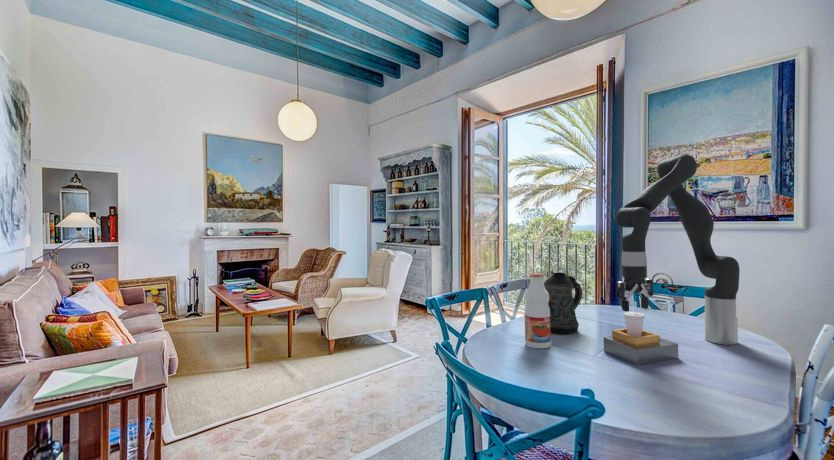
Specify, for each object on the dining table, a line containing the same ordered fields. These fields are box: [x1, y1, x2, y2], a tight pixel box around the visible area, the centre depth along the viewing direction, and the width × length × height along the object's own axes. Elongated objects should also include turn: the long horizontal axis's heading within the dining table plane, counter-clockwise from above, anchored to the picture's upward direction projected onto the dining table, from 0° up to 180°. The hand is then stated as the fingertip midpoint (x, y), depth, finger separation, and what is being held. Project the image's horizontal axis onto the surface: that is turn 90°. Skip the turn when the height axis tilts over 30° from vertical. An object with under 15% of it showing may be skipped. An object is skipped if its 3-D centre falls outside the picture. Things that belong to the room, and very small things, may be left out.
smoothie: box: [623, 301, 646, 337], centre depth 124 cm, size 6×6×14 cm
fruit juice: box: [524, 272, 552, 350], centre depth 136 cm, size 9×9×28 cm
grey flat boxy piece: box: [603, 327, 679, 366], centre depth 125 cm, size 21×14×8 cm, turn 106°
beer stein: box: [543, 272, 583, 336], centre depth 157 cm, size 16×19×25 cm
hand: (635, 309), depth 124 cm, fingers open, 8 cm apart
